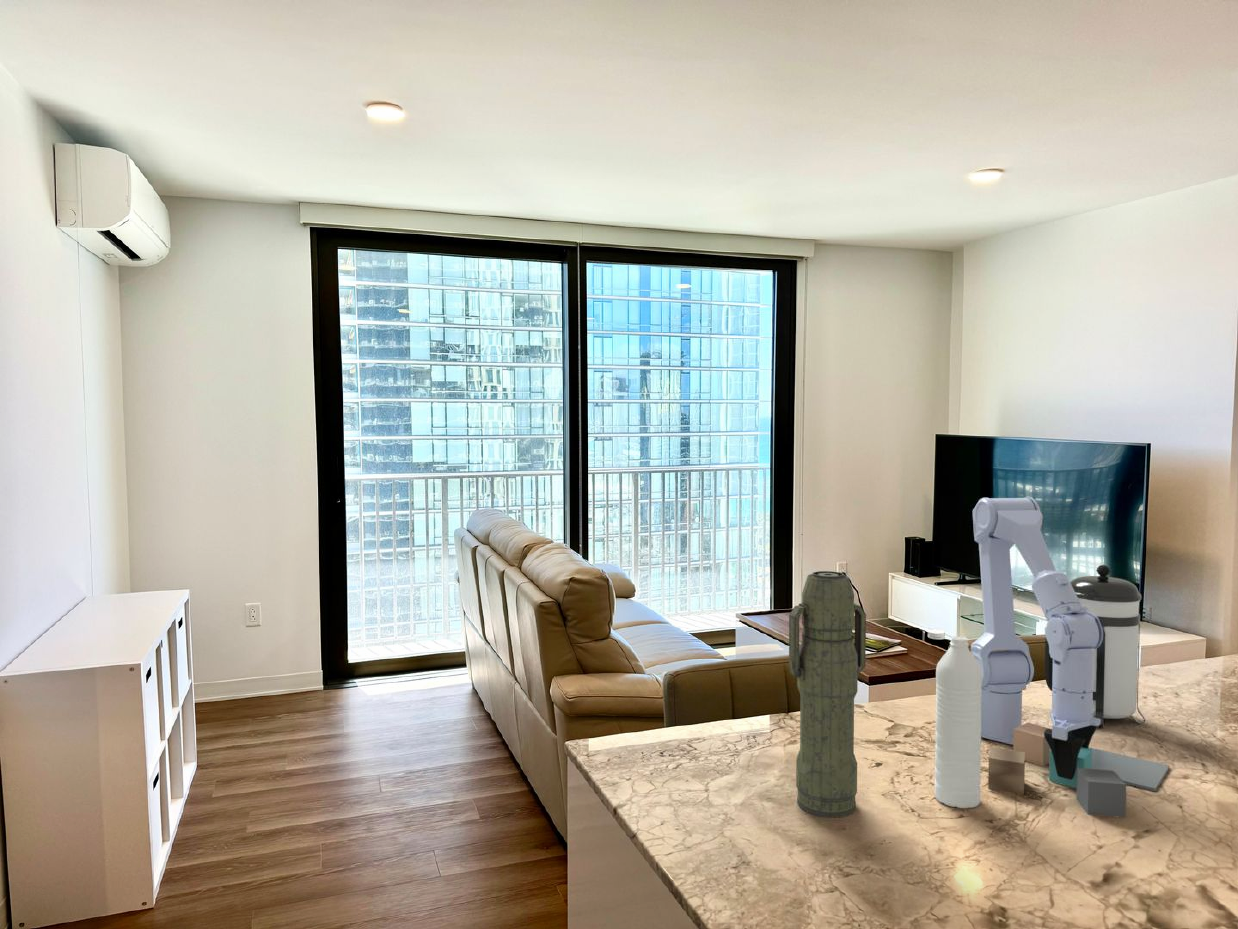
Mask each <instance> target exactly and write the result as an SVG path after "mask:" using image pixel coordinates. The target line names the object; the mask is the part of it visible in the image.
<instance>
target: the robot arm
mask: <svg viewBox="0 0 1238 929" xmlns="http://www.w3.org/2000/svg"><path fill="white" fill-rule="evenodd" d="M1043 516H1044V514H1042V512H1041V507H1040V506H1039V504H1038V501H1037V500H1035V499H1034V498H1033V497H1030V496H1026V497H1004V498H1003V497H1000V498H999V497H996V498H994V497H991V498H989V497H982V498H980V499H978V502H977V503H976V505H975V507H974V508H973V509H972V521H973V522H972V523H973V537H974V542H976V543H977V544H978V551H979V567H980V580H981V582H980V583H981V584H980V585H981V598H982V612H983V628H984V633H983V634H982V635H981V636H980V637H978V638H977V639H976V640H975V641H974V642H972V643H971V644H970V652H971V653H972V655H973V656H974V658H975V659H976V661H977V662H978V664H979V665H980V668H981V671H982V687H981V688H982V692H981V694H982V697H981V700H982V701H981V735H980V736H981V739H982V738H983V739H986V740H991V741H994V742H999V743H1000V742H1001V743H1004V744H1007V745H1012V746H1013V743H1014V729H1015V728H1017V727H1019V726H1021V725H1023V722H1022V714H1023V710H1022V709H1023V691H1026V690H1027V685H1030V684H1031V682H1032V680H1033V679H1034V674H1035V668H1034V663H1033V660H1032V658H1031V655H1030V649H1029V647H1030V646H1029V645H1028V644H1027V643H1026V642H1025V641H1023V639H1021V638H1020V637H1019V636H1017V635H1016V625H1015V610H1014V608H1015V607H1014V595H1013V581H1012V577H1013V576H1012V568H1011V553H1010V552H1011V551H1010V550H1011V548H1012V547H1013V546H1014V545H1015V547H1016V549H1017V551H1018V552H1019V553H1020V555H1021V556H1022V558H1023V560H1024V562H1025V563H1026V565H1027V567H1028V569H1029V570H1030V572H1031V574H1032V576H1033V577H1034V580H1033V581H1032V584H1031V589H1032V592H1033V594H1034V596H1035V598H1036V599H1037V603H1038V604H1039V607H1040V608H1041V610H1042V613H1043V615H1044V617H1045V619H1046V621H1047V623H1046V627H1044V635H1045V640H1046V639H1047V641H1048V644H1049V654H1050V657H1051V658H1053V677H1052V691H1051V711H1050V712H1049V714H1050V716H1049V717H1050V720H1051V722H1052V726H1051V728H1050V729H1047V730H1045V731H1044V736H1045V739H1046V741H1047V742H1048V744H1049V746H1050V749H1051V751H1052V754H1053V758H1054V763H1055V767H1056V771H1057V775H1058V776H1059V777H1062V778H1066V779H1070V780H1072V779H1073V777H1074V774H1075V770H1076V764H1077V759H1078V755H1079V752H1080V749H1081V747H1083V748H1087V749H1088V747H1089V746H1090V744H1091V740H1093V739H1092V738H1093V736H1094V734H1095V732H1096V731H1097V729H1098V726H1099V725H1100V724H1101V720H1100V719H1098V718H1095V716H1092V700H1093V658H1094V649H1096V648H1098V647H1099V646H1100V645H1101V643H1102V640H1103V630H1102V626H1101V623H1100V621H1099V618H1098V617H1097V616H1096V615H1095V614H1093V613H1091V612H1090V611H1089V610H1088V608H1086V607H1082V605H1081V603H1080V601H1079V599H1078V597H1077V595H1076V593H1075V591H1074V589H1073V587H1072V585H1071V583H1070V582H1071V581H1070V579H1069V577H1068V575H1067V574H1065V573H1063V572H1060V571H1058V570H1057V569H1056V566H1055V564H1054V562H1053V559H1052V557H1051V554H1050V552H1049V549H1048V547H1047V544H1046V541H1045V538H1044V536H1043V533H1042V532H1041V528H1042V525H1043ZM1051 729H1052V730H1051Z"/></svg>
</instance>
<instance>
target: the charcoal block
mask: <svg viewBox="0 0 1238 929" xmlns="http://www.w3.org/2000/svg"><path fill="white" fill-rule="evenodd" d="M1126 799H1127V785H1126V784H1125V783H1124V781H1123V780H1122V779H1121V778H1120V777H1119V776H1118V775H1117V774H1116V773H1115V772H1114V771H1112V770H1099V769H1086V768H1077V788H1076V801H1077V802H1078V804H1079V805H1080V806H1081V808H1082V809H1083V810H1084V812H1086V813H1085V814H1087V815H1088V816H1089V815H1090V816H1091V815H1093V816H1101V817H1103V816H1104V817H1113V816H1116V817H1115V818H1124V817H1125V818H1126V805H1127V800H1126ZM1117 816H1118V817H1117Z"/></svg>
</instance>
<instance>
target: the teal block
mask: <svg viewBox="0 0 1238 929" xmlns="http://www.w3.org/2000/svg"><path fill="white" fill-rule="evenodd" d="M1048 764H1049V768H1048V769H1049V771H1048V773H1049V775H1048V777H1049V778H1048V782H1052V783H1056V784H1060V785H1064V786H1067V787H1073V788H1075V789H1077V768H1086V769H1092V750H1091V749H1087V748H1083V747H1081V749H1080V752H1079V755H1078V759H1077V764H1076V770H1075V774H1074V777H1073V779H1072V780H1070V779H1066V778H1062V777H1059V776H1058V775H1057V771H1056V767H1055V763H1054V758H1053V754H1052V751H1051V750H1050V759H1049V763H1048Z"/></svg>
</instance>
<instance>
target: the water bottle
mask: <svg viewBox="0 0 1238 929" xmlns="http://www.w3.org/2000/svg"><path fill="white" fill-rule="evenodd" d="M945 634H946V633H945V631H944V630H939V629H930V630H928V631H927V637H928V638H929V639H932V640H945V639H946V635H945ZM950 639H951V640H950V642H949V645H950V647H949V648H948V649H947V650H946V652H945V653H944V654H943V655H942V657H941V658H940V660H938V662H937V664H936V669H935V678H936V679H935V681H936V682H935V686H936V689H935V722H934V723H935V725H934V726H935V733H934V735H935V736H934V739H935V740H934V741H935V746H934V750H935V753H934V766H935V768H934V779H935V780H934V786H933V787H934V793H933V794H934V798H936V800H937V801H938V802H940V804H941V803H942V804H944V805H946V806H948V807H952V808H955V807H956V808H958V809H969V808H970V809H972V808H976V807H977V806H979V804H981V787H980V786H981V769H982V767H981V760H982V751H981V747H982V737H981V736H980V735H981V701H982V700H981V697H982V694H981V692H982V688H981V687H982V671H981V668H980V665H979V664H978V662H977V661H976V659H975V658H974V656H973V655H972V653H971V649H969V646H970V644H969V640H968V638H966V637H963V636H952V637H951V638H950Z"/></svg>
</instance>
